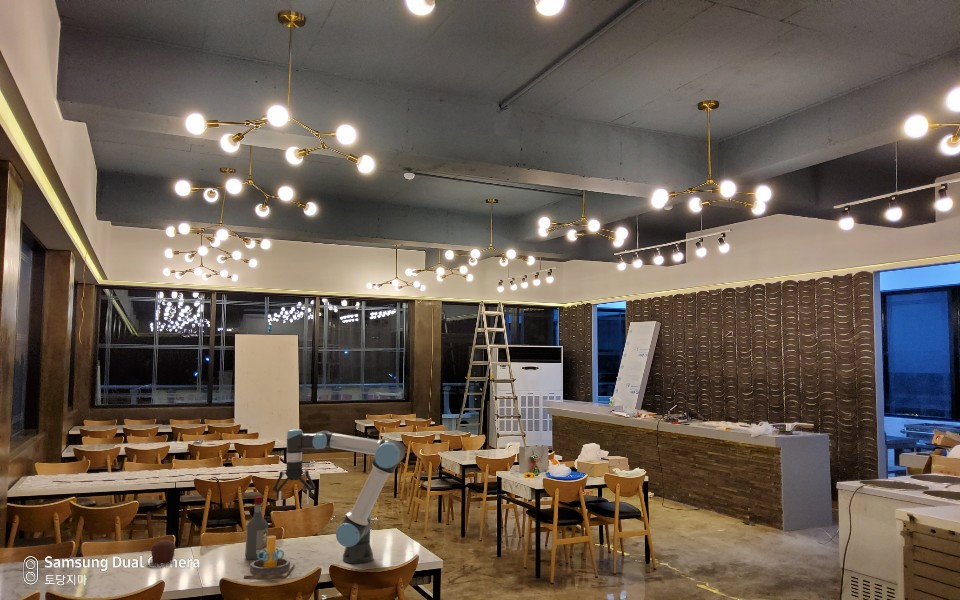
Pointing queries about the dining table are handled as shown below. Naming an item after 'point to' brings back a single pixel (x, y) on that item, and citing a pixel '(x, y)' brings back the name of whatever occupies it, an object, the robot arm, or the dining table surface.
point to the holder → (270, 569)
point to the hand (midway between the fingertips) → (293, 504)
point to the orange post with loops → (270, 553)
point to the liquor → (256, 533)
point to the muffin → (163, 551)
